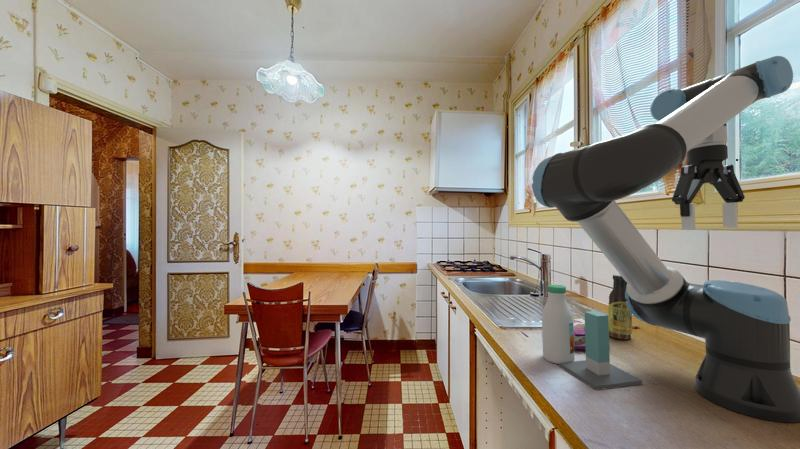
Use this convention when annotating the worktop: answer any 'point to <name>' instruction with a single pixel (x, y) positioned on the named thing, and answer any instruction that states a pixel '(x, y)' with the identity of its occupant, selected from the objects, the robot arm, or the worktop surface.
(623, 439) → the worktop surface
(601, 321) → the stick
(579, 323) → the candy bar box
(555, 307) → the milk bottle
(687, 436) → the worktop surface
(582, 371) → the mat
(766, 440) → the worktop surface
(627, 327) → the sauce bottle
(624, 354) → the worktop surface
